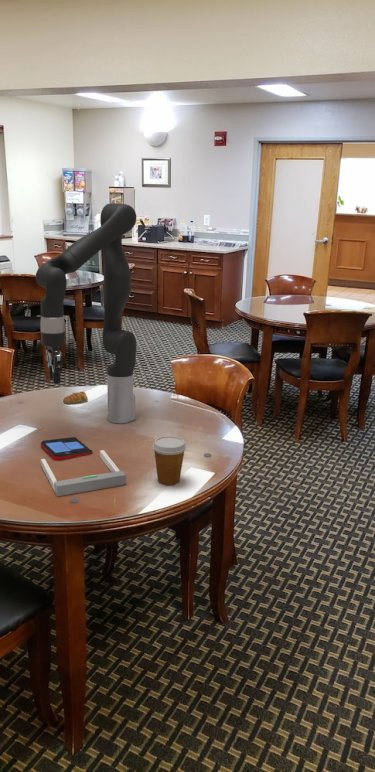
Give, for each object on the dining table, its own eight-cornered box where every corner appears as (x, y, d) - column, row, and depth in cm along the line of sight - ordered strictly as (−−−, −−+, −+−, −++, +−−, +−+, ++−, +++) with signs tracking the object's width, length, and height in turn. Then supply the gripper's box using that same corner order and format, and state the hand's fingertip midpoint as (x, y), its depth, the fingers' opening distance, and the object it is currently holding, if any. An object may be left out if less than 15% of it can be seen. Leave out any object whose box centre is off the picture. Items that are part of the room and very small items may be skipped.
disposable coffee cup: (151, 473, 175) (152, 435, 172) (183, 473, 176) (185, 435, 172) (152, 488, 166) (153, 448, 163) (186, 487, 167) (187, 448, 163)
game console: (93, 455, 187) (93, 448, 187) (55, 463, 181) (54, 456, 180) (75, 439, 199) (75, 433, 198) (38, 446, 192) (38, 440, 192)
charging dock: (103, 455, 186) (103, 445, 185) (125, 484, 168) (125, 473, 167) (41, 465, 178) (40, 455, 177) (57, 496, 160) (56, 485, 159)
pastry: (68, 407, 229) (67, 397, 228) (59, 402, 234) (59, 393, 233) (89, 402, 235) (89, 393, 234) (80, 398, 240) (80, 389, 239)
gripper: (70, 333, 185) (71, 386, 190) (59, 324, 197) (61, 374, 202) (45, 335, 182) (48, 388, 187) (36, 326, 194) (38, 376, 199)
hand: (54, 380), depth 195 cm, fingers open, 5 cm apart
